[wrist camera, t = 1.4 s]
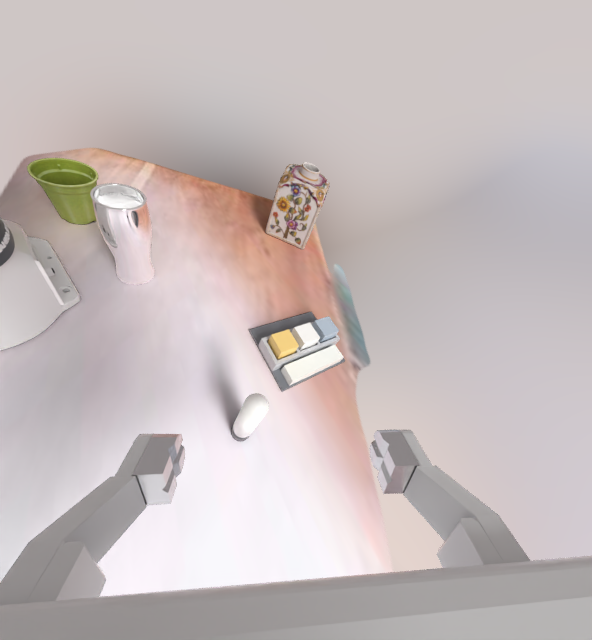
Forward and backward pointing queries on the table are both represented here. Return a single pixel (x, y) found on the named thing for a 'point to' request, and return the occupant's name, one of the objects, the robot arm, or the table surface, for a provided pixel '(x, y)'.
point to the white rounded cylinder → (249, 416)
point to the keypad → (296, 353)
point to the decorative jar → (297, 204)
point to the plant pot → (67, 187)
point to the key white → (305, 336)
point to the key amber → (283, 344)
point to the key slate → (325, 329)
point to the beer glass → (125, 230)
